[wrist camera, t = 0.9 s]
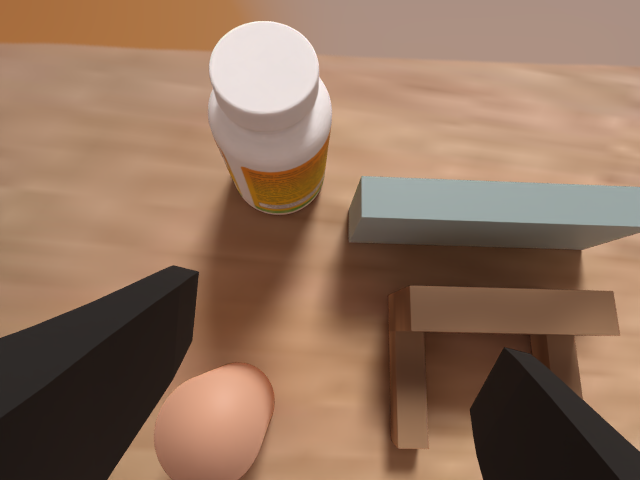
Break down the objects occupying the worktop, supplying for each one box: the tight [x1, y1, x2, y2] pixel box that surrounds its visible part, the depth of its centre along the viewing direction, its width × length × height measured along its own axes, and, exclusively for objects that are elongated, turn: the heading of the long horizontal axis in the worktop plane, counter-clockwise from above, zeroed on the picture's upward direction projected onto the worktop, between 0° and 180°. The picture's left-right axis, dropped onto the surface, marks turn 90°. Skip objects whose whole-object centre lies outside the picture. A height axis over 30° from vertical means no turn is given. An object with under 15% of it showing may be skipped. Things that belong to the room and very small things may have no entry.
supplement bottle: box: [208, 21, 332, 215], centre depth 18 cm, size 5×5×10 cm
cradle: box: [388, 285, 620, 449], centre depth 19 cm, size 8×10×4 cm
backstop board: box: [349, 176, 640, 250], centre depth 20 cm, size 2×14×5 cm, turn 89°
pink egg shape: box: [154, 362, 274, 480], centre depth 17 cm, size 4×4×6 cm
